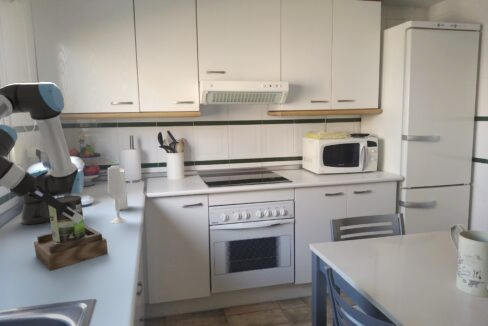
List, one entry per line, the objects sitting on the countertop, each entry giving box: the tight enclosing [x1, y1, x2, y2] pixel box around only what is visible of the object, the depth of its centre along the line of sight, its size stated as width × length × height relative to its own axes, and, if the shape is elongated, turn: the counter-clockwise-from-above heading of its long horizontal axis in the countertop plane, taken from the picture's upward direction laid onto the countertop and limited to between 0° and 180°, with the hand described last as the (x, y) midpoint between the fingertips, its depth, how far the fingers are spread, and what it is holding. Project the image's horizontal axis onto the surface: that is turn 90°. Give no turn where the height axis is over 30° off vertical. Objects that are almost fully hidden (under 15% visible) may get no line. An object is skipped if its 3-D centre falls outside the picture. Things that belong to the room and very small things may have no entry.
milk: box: [110, 164, 129, 211], centre depth 185 cm, size 6×6×22 cm
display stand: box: [33, 224, 109, 271], centre depth 126 cm, size 18×18×7 cm
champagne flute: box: [107, 166, 127, 224], centre depth 163 cm, size 7×7×24 cm
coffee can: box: [48, 195, 86, 244], centre depth 125 cm, size 10×10×14 cm
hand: (73, 216), depth 126 cm, fingers open, 13 cm apart
